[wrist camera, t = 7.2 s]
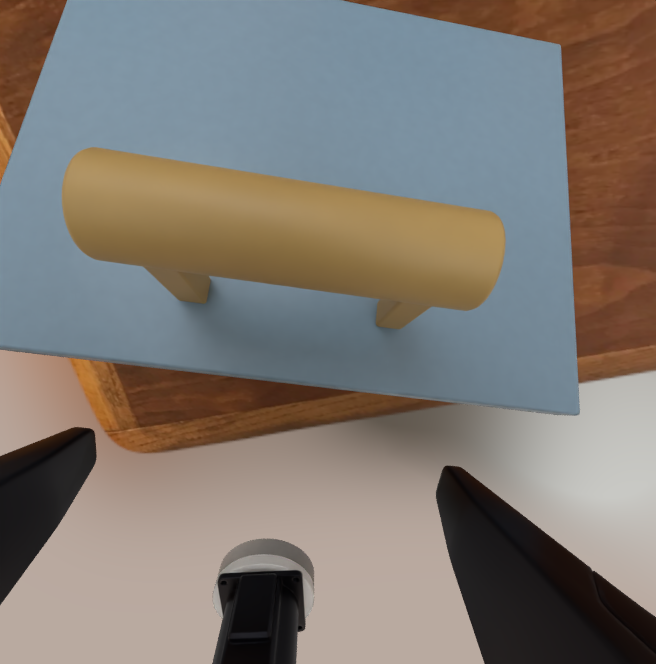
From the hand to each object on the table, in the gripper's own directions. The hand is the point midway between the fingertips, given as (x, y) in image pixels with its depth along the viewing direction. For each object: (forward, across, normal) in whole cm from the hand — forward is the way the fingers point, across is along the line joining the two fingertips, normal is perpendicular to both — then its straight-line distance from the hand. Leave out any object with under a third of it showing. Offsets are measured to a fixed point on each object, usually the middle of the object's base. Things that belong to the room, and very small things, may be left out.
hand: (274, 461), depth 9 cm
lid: (+4, 0, -7) cm, 8 cm away
